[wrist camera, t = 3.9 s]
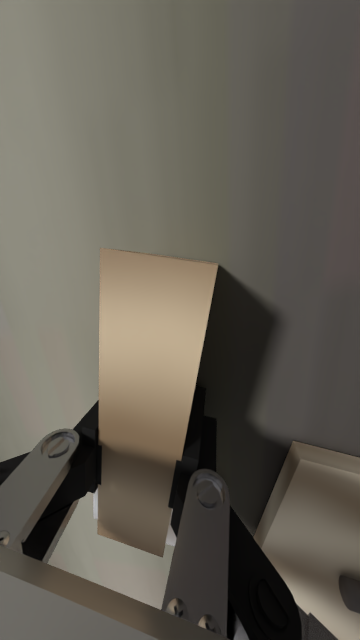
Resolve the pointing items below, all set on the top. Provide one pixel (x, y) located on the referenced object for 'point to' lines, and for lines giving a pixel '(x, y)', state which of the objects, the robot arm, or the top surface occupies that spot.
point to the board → (317, 535)
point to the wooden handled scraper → (146, 387)
